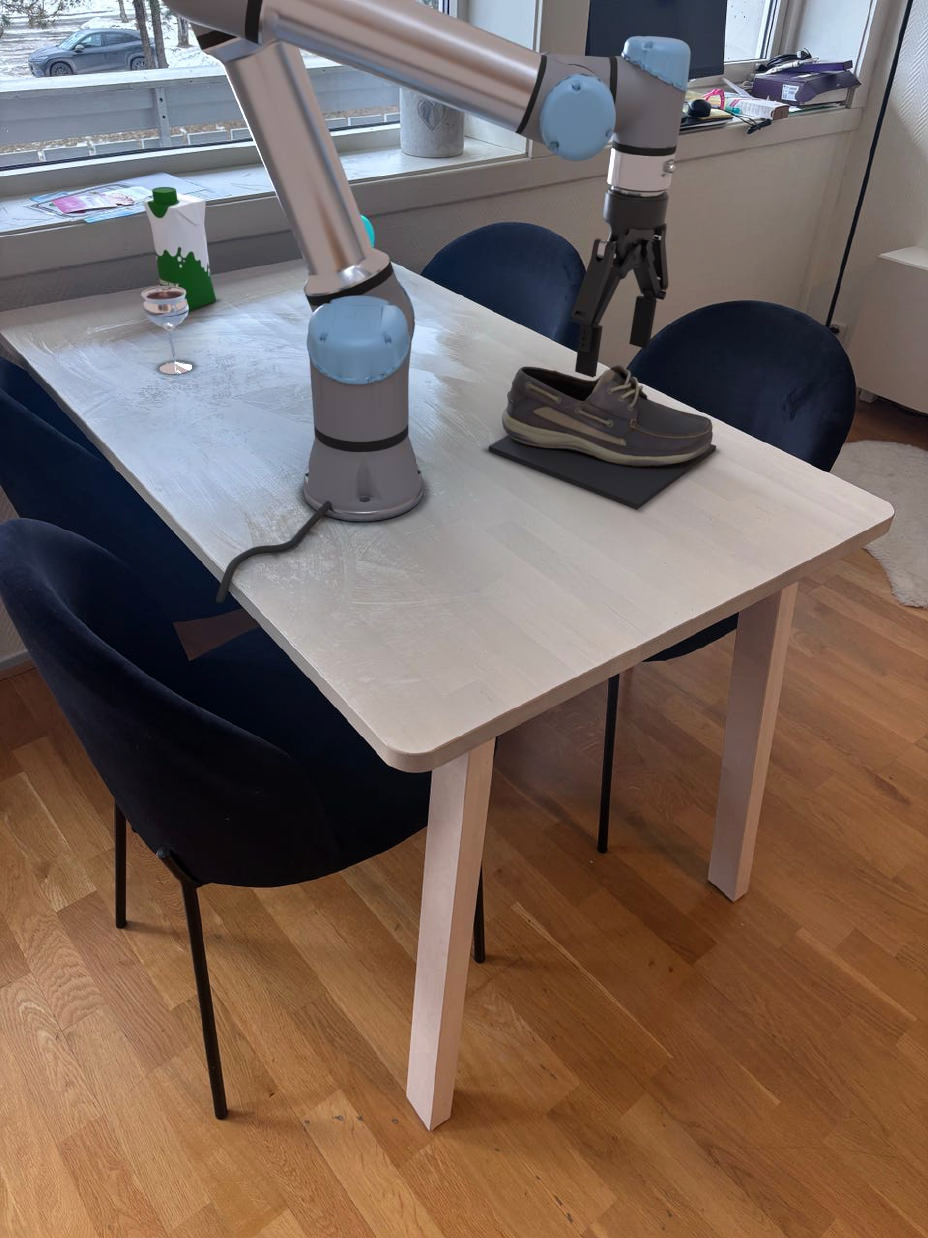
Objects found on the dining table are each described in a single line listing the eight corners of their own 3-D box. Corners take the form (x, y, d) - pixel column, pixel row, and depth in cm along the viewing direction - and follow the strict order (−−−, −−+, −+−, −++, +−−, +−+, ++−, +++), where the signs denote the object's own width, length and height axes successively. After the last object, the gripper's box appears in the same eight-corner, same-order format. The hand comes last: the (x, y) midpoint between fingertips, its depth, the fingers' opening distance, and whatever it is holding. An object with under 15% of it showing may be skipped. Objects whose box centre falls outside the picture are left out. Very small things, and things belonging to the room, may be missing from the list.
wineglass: (145, 373, 151) (132, 297, 144) (166, 357, 156) (154, 283, 149) (185, 378, 150) (173, 302, 143) (204, 362, 155) (194, 288, 148)
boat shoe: (707, 478, 128) (723, 403, 121) (493, 451, 132) (497, 377, 125) (708, 442, 136) (723, 371, 130) (506, 418, 140) (511, 347, 134)
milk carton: (154, 303, 176) (135, 187, 164) (189, 290, 183) (174, 178, 171) (188, 313, 173) (172, 196, 161) (223, 300, 179) (210, 186, 167)
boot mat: (637, 509, 122) (637, 504, 122) (488, 451, 134) (488, 445, 133) (715, 450, 136) (716, 445, 136) (574, 402, 148) (575, 397, 147)
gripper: (609, 213, 104) (586, 395, 117) (714, 178, 120) (683, 342, 133) (553, 199, 108) (536, 378, 121) (661, 167, 124) (636, 328, 137)
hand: (613, 359), depth 127 cm, fingers open, 13 cm apart
